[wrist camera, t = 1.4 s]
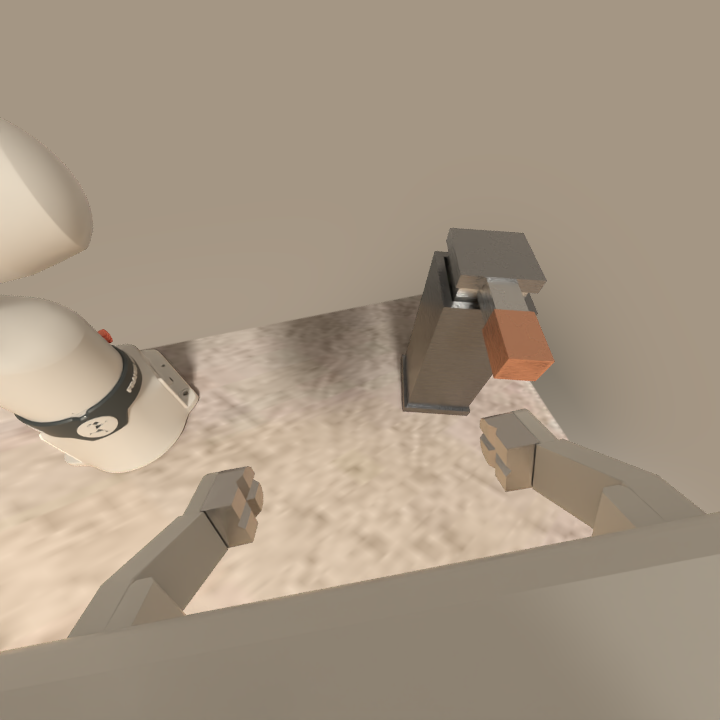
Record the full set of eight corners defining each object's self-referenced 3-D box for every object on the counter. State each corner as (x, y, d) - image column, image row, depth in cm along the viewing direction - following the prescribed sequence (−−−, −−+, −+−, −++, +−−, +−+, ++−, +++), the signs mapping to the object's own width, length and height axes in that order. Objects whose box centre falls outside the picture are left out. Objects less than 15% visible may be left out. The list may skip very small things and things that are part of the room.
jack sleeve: (401, 359, 57) (430, 248, 37) (458, 363, 57) (516, 254, 37) (402, 411, 50) (439, 310, 31) (466, 415, 50) (543, 317, 31)
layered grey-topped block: (412, 352, 53) (450, 227, 34) (458, 355, 53) (523, 233, 34) (418, 453, 42) (479, 355, 23) (476, 457, 42) (586, 362, 23)
